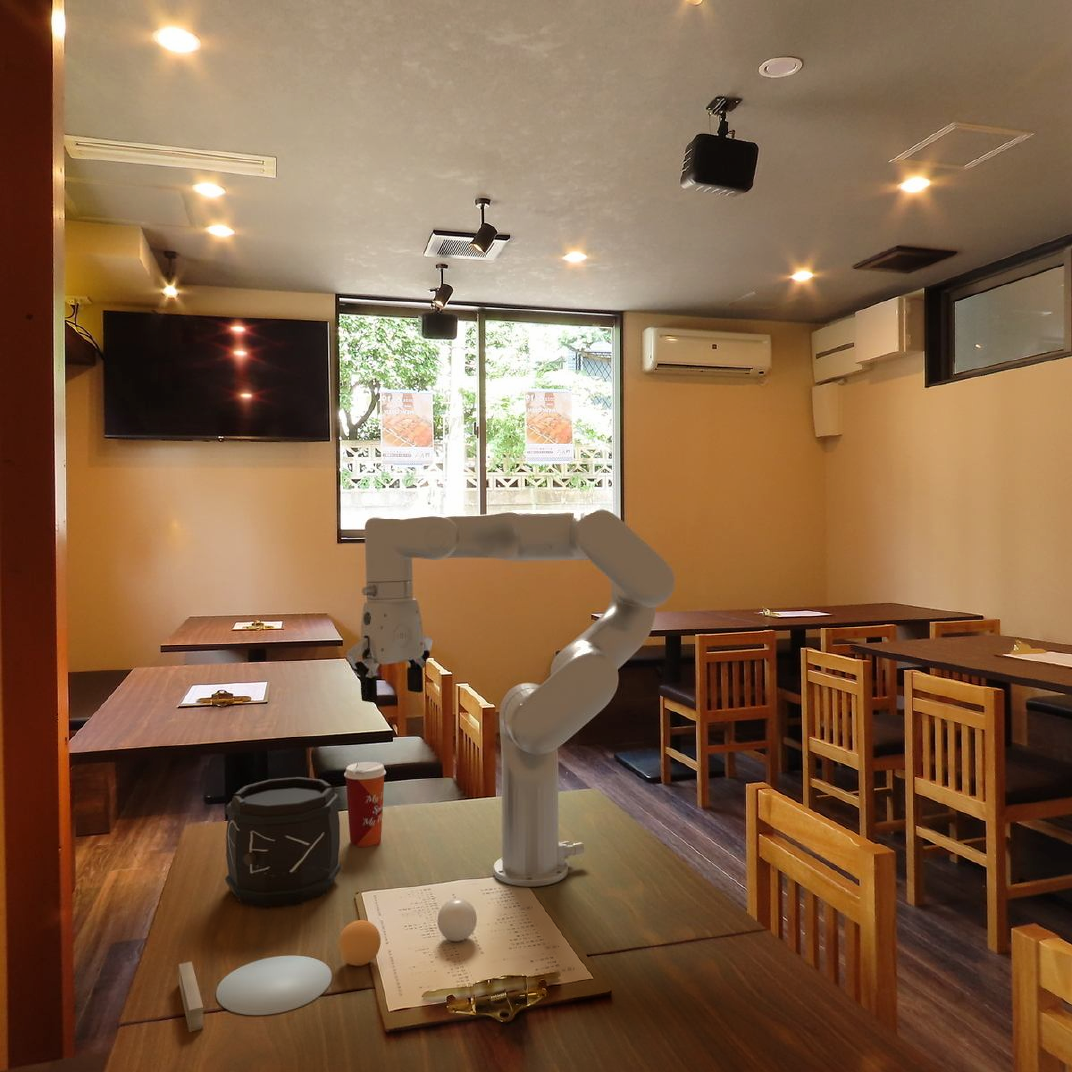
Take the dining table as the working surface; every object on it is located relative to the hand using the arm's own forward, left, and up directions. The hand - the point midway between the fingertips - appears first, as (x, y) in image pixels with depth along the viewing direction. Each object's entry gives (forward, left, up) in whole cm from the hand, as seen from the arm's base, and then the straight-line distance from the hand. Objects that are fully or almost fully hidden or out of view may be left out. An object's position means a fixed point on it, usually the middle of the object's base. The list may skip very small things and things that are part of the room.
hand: (392, 696), depth 140 cm
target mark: (+24, +23, -31) cm, 45 cm away
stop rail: (+34, +23, -31) cm, 51 cm away
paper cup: (-1, -21, -31) cm, 37 cm away
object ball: (+13, +23, -28) cm, 38 cm away
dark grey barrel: (+17, -7, -31) cm, 36 cm away
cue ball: (-1, +23, -28) cm, 36 cm away
